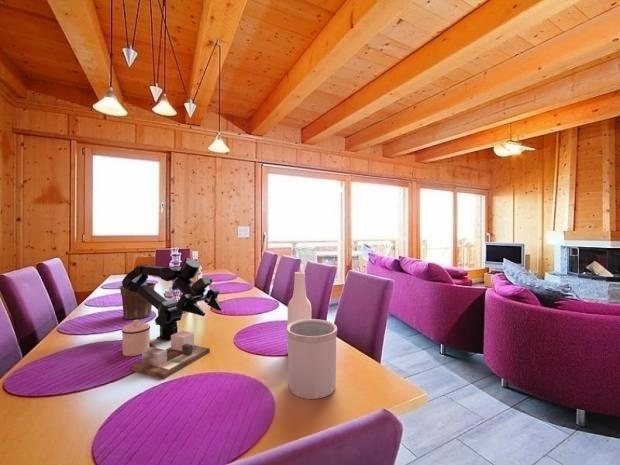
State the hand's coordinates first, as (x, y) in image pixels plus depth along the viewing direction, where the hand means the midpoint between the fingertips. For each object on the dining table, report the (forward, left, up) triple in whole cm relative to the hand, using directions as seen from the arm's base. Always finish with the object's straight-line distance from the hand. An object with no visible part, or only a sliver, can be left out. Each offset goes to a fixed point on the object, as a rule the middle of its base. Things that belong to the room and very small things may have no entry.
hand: (212, 312), depth 112 cm
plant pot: (-62, +17, -14) cm, 66 cm away
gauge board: (-5, -15, -13) cm, 21 cm away
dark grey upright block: (-1, -12, -12) cm, 16 cm away
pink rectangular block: (-5, -8, -12) cm, 15 cm away
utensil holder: (+45, -12, -14) cm, 49 cm away
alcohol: (+33, +7, -14) cm, 37 cm away
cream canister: (-25, -14, -14) cm, 31 cm away
